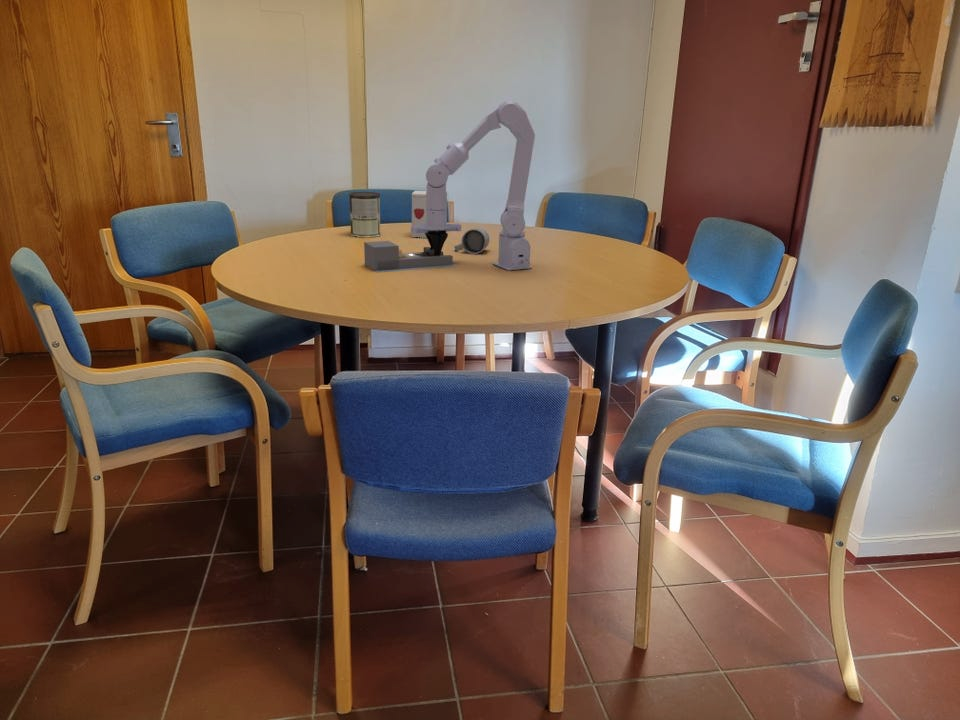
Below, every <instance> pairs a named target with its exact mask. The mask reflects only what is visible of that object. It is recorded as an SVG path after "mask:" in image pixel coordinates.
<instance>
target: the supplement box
mask: <svg viewBox="0 0 960 720" xmlns="http://www.w3.org/2000/svg"><path fill="white" fill-rule="evenodd" d="M426 192H427V190H414V191H413V192H412V193H411V226H416V225H424V224H426ZM412 237H418V239H427V237H426V235H425V233H417V234H413V233H411V238H412ZM419 237H420V238H419Z"/></svg>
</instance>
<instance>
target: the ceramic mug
mask: <svg viewBox="0 0 960 720" xmlns="http://www.w3.org/2000/svg"><path fill="white" fill-rule="evenodd" d="M489 244H490V236H489V233H488V232H487V230H485V229H484V228H482V227H474V228H470V229H468V230H467V231H465V232H464V234H463V235H462V236H461V242H460V243H459V244H457V245H454V246H453V247H454V249H455V251H456V252H458V251H460V250H463V249H464V251H465V252H466V253H468V254H470V255H478V254H480V253H482V251H484V250H485V249H486V248H487V247H489Z"/></svg>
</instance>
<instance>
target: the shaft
mask: <svg viewBox="0 0 960 720" xmlns="http://www.w3.org/2000/svg"><path fill="white" fill-rule="evenodd" d="M429 256H434V249H433V248H431V247H430V246H424V247H423V251H421V252H420V251H419V252H418V251H417V253H416V252H404V253H403V252H402V258H415V257H429Z"/></svg>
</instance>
